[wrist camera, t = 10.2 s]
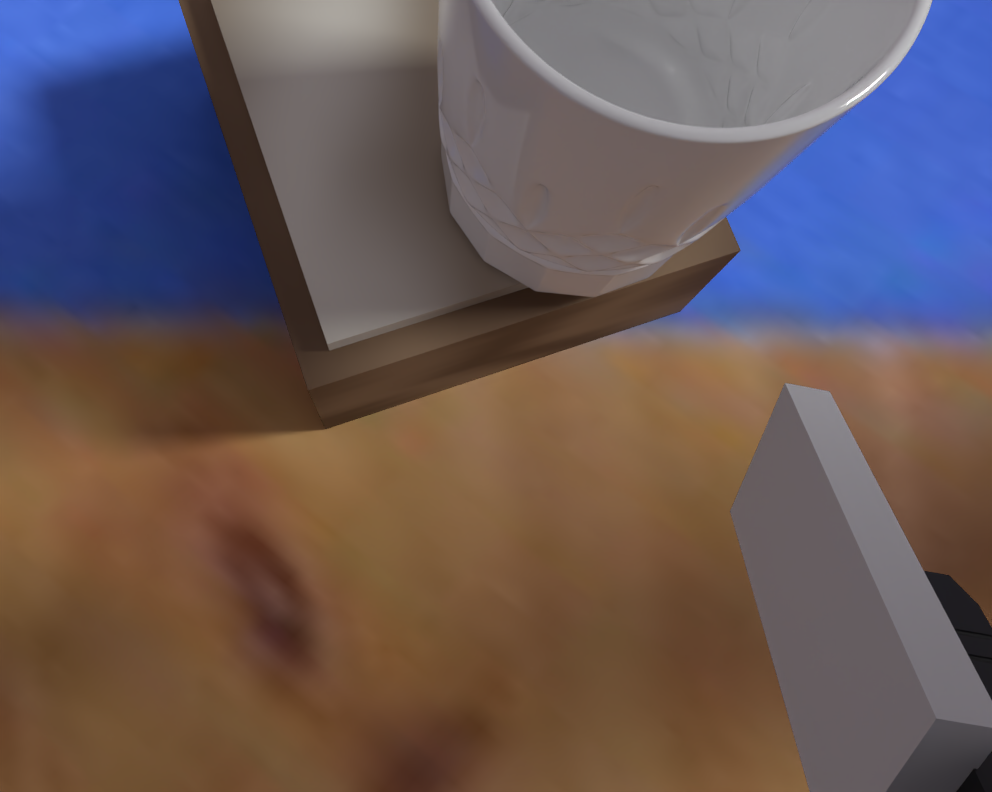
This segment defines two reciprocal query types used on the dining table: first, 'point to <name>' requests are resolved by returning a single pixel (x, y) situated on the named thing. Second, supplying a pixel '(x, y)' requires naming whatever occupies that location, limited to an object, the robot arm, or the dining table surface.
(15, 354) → the dining table surface
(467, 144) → the white cup
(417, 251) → the base
